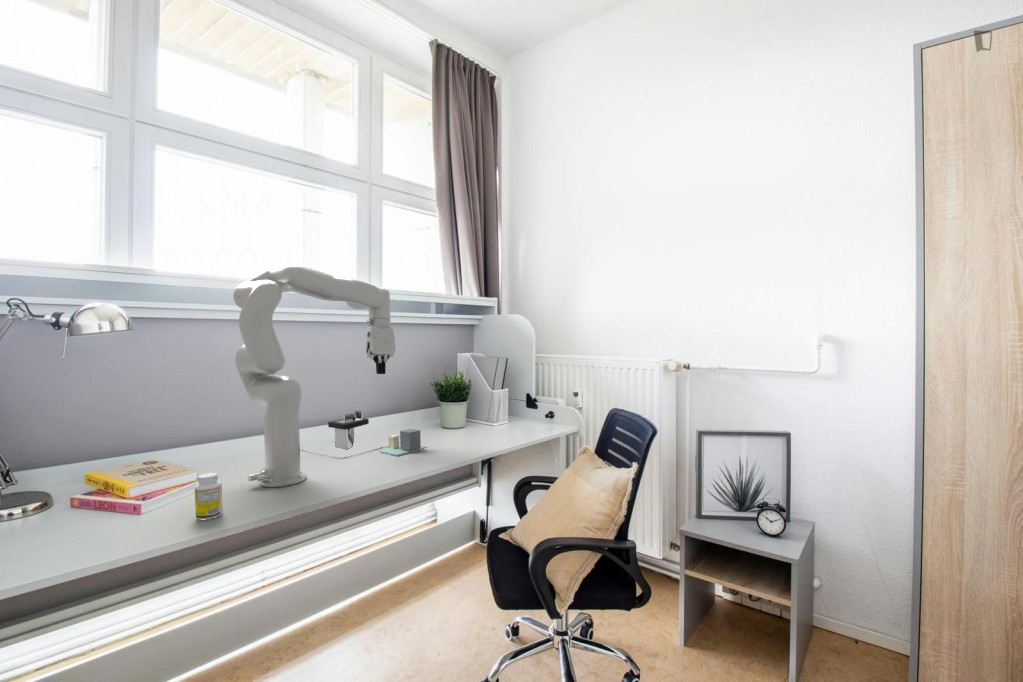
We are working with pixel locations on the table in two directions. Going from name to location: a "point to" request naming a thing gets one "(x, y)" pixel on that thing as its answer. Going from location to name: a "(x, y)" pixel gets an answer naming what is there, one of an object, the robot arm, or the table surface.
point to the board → (399, 451)
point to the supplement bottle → (208, 496)
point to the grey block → (410, 439)
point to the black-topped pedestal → (347, 429)
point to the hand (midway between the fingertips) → (380, 373)
